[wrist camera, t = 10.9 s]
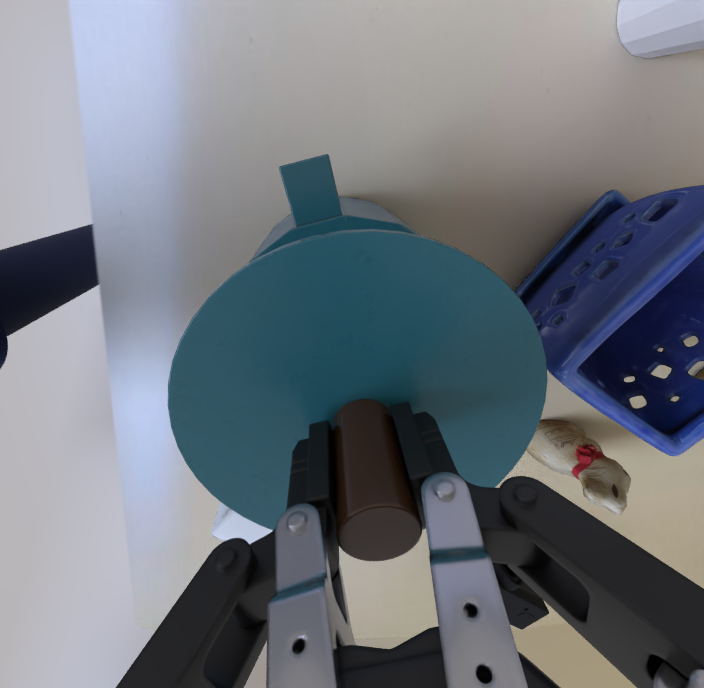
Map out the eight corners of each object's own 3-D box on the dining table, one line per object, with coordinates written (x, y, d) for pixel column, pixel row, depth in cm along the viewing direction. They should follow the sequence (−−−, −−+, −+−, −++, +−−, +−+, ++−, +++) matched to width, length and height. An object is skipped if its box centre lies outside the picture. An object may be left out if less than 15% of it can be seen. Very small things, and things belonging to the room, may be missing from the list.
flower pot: (595, 165, 27) (771, 168, 17) (689, 263, 31) (877, 317, 21) (473, 304, 32) (550, 378, 21) (570, 375, 36) (674, 466, 25)
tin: (296, 397, 35) (286, 485, 25) (217, 184, 26) (157, 198, 17) (436, 363, 34) (480, 441, 25) (404, 134, 25) (452, 121, 16)
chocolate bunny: (553, 467, 41) (617, 552, 33) (510, 436, 39) (566, 519, 30) (594, 436, 40) (673, 516, 31) (551, 402, 37) (624, 478, 28)
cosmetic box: (279, 382, 34) (260, 485, 23) (315, 405, 35) (313, 512, 25) (242, 423, 35) (207, 536, 25) (277, 443, 37) (260, 559, 26)
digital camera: (528, 551, 48) (559, 609, 42) (497, 572, 50) (522, 631, 44) (478, 521, 45) (503, 579, 38) (446, 544, 46) (465, 604, 40)
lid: (254, 548, 19) (228, 697, 14) (102, 285, 12) (-62, 380, 7) (533, 486, 18) (617, 618, 13) (533, 175, 12) (704, 190, 6)
